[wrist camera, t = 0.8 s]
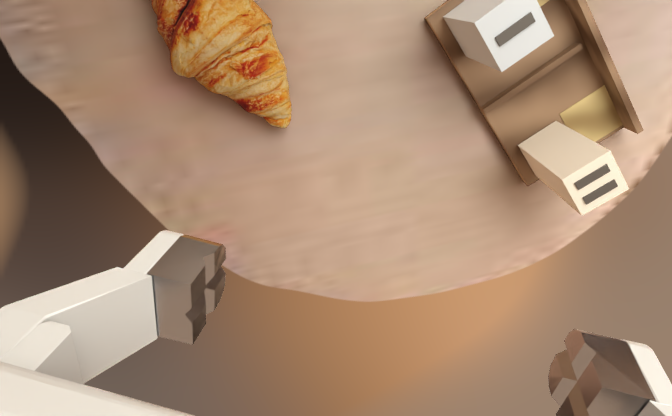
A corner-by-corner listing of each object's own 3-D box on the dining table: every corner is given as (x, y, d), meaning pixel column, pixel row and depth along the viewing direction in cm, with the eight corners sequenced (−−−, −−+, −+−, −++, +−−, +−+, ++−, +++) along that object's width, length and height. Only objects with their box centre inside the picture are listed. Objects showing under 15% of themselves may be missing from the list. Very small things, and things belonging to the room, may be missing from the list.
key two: (517, 145, 48) (562, 180, 39) (557, 119, 47) (613, 149, 38) (535, 175, 50) (582, 216, 41) (574, 152, 49) (631, 188, 40)
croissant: (310, 98, 50) (339, 91, 43) (245, 156, 48) (264, 160, 41) (175, -81, 42) (183, -125, 35) (90, -20, 40) (80, -54, 33)
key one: (442, 16, 42) (474, 23, 33) (485, -16, 41) (531, -19, 32) (465, 56, 44) (502, 72, 35) (507, 26, 43) (557, 34, 34)
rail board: (424, 17, 44) (432, 19, 40) (535, -67, 41) (553, -73, 38) (523, 182, 52) (536, 194, 48) (622, 121, 49) (643, 130, 45)
